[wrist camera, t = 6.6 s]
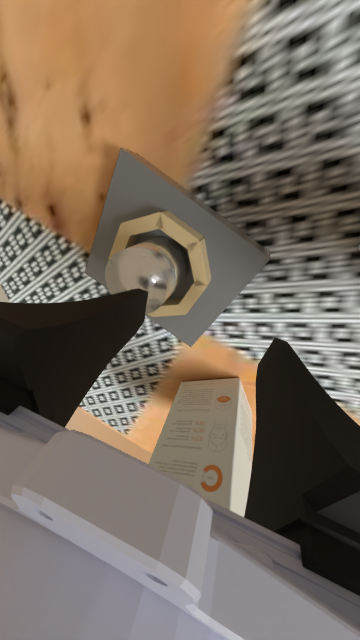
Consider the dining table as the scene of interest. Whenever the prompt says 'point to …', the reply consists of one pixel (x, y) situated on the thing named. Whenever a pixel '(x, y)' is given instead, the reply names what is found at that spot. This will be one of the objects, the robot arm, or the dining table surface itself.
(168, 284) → the shiny metal cylinder
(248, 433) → the small box
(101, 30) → the dining table surface
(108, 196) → the grey square plate
